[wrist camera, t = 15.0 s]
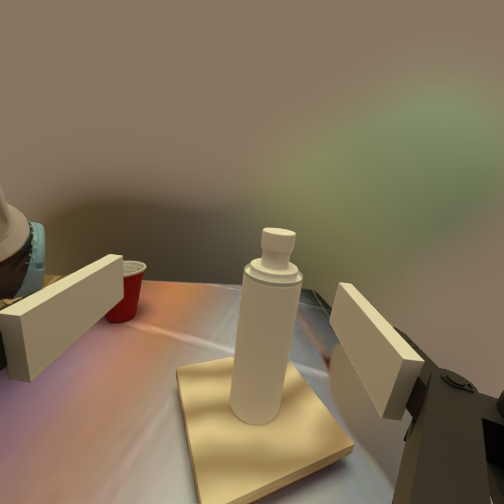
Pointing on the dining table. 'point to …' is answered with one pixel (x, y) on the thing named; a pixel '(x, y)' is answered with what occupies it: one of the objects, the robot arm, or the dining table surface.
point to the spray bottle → (265, 329)
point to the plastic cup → (128, 293)
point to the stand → (253, 436)
